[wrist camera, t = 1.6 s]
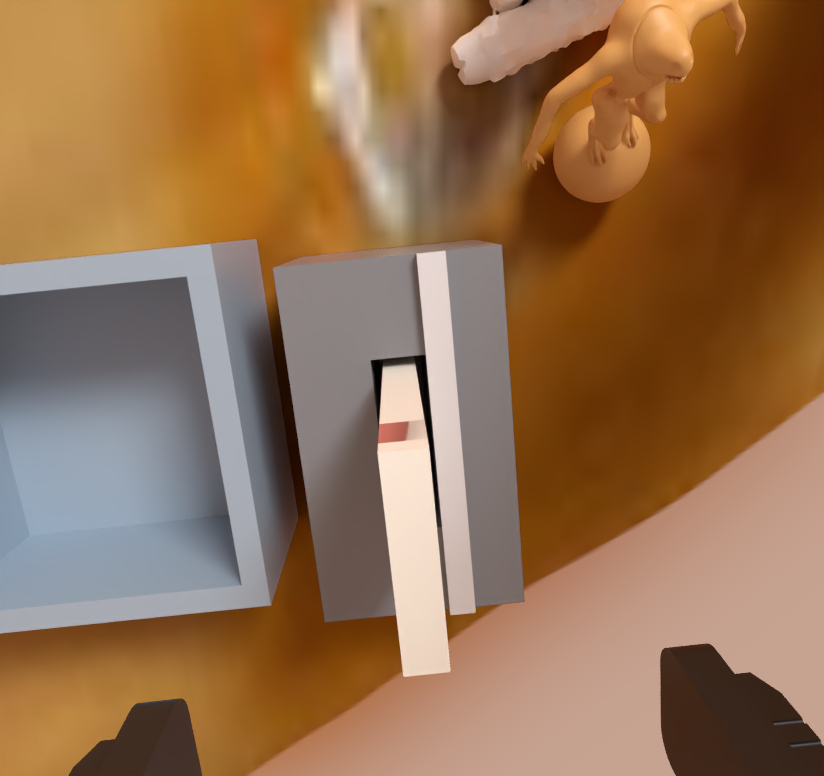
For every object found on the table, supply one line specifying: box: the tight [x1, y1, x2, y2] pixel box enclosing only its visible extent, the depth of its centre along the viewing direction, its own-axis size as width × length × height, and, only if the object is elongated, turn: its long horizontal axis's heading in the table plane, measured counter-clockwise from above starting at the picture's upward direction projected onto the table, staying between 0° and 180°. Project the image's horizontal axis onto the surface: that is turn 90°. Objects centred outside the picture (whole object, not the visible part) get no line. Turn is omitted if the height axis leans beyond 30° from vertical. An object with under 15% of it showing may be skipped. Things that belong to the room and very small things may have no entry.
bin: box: [0, 239, 298, 633], centre depth 28 cm, size 14×14×8 cm
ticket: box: [378, 356, 451, 677], centre depth 24 cm, size 6×1×16 cm, turn 6°
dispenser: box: [273, 239, 524, 622], centre depth 28 cm, size 14×8×8 cm, turn 6°
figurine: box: [522, 0, 746, 203], centre depth 24 cm, size 8×6×12 cm
